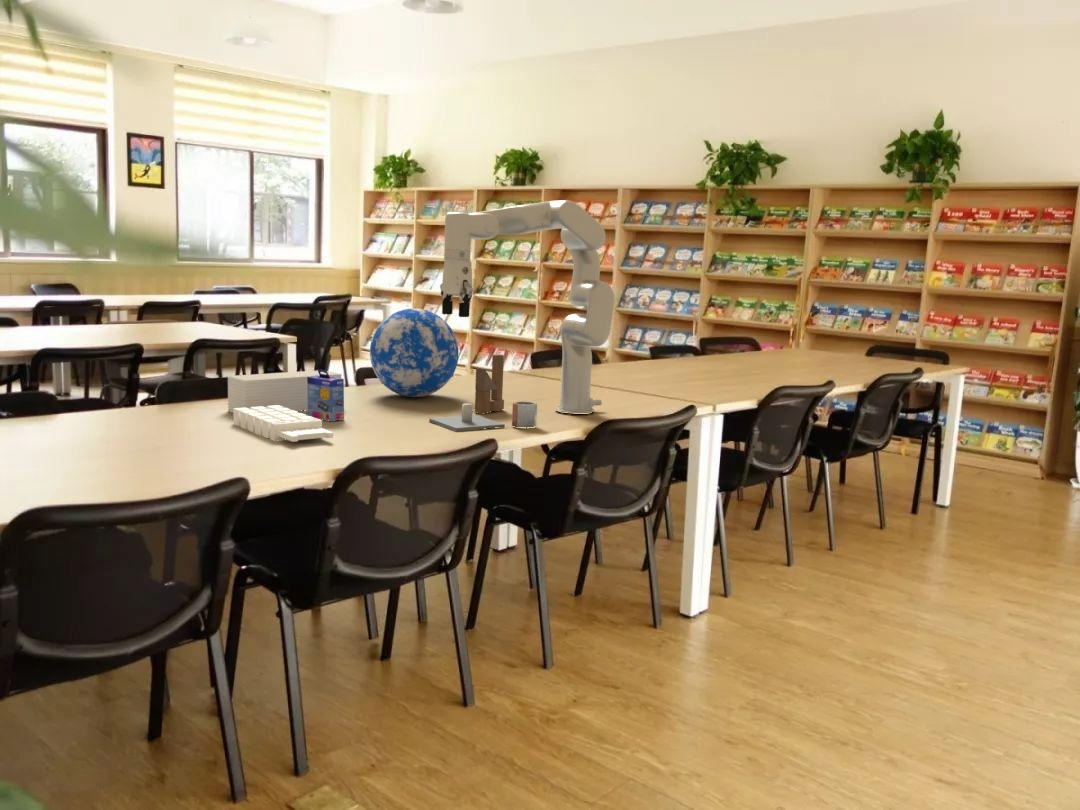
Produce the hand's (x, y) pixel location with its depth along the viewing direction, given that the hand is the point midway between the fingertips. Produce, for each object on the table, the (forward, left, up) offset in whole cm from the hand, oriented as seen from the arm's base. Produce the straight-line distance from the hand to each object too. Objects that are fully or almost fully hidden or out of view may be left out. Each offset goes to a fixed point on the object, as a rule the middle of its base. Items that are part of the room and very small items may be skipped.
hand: (455, 315), depth 275 cm
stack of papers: (+38, -35, -32) cm, 61 cm away
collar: (-15, +16, -31) cm, 38 cm away
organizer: (+51, 0, -32) cm, 60 cm away
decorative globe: (-10, -45, -31) cm, 56 cm away
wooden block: (-19, -10, -31) cm, 38 cm away
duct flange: (-1, +7, -31) cm, 32 cm away
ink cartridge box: (+33, -16, -31) cm, 48 cm away
